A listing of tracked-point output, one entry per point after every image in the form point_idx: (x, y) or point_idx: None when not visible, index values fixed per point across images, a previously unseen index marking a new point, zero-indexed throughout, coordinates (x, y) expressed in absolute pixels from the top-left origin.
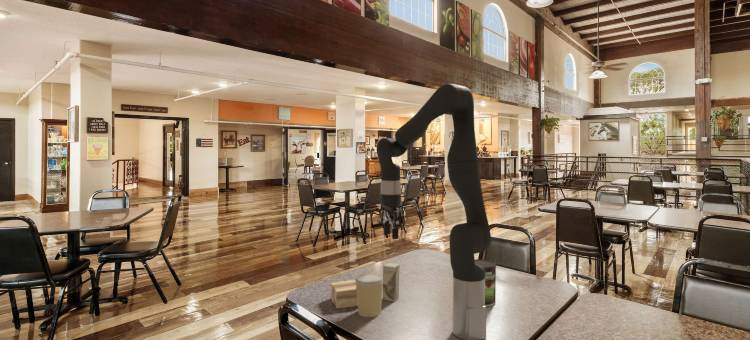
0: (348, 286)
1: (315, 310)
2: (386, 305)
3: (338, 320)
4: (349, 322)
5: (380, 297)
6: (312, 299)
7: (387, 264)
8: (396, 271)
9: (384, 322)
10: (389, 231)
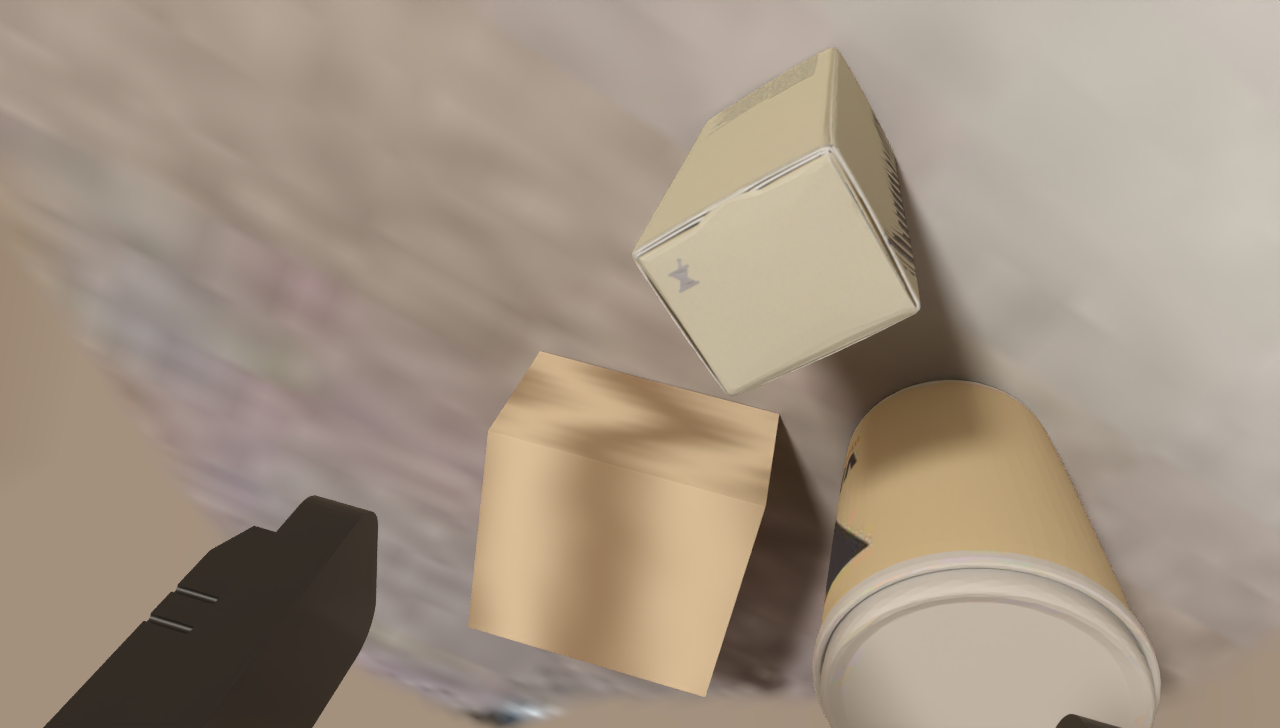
0: (639, 578)
1: (672, 689)
2: (915, 268)
3: None
4: None
5: (1091, 525)
6: None
7: (728, 325)
8: (895, 231)
9: (1201, 478)
10: (334, 566)
